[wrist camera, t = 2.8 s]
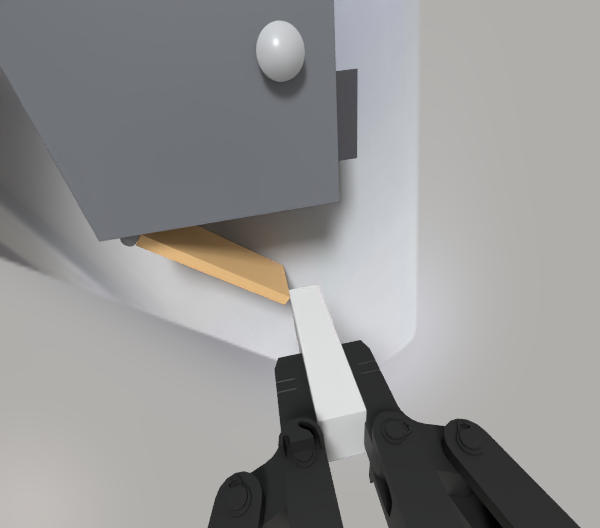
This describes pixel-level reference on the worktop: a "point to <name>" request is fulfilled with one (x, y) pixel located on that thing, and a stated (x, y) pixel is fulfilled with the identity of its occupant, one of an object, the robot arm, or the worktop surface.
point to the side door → (217, 259)
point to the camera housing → (183, 105)
